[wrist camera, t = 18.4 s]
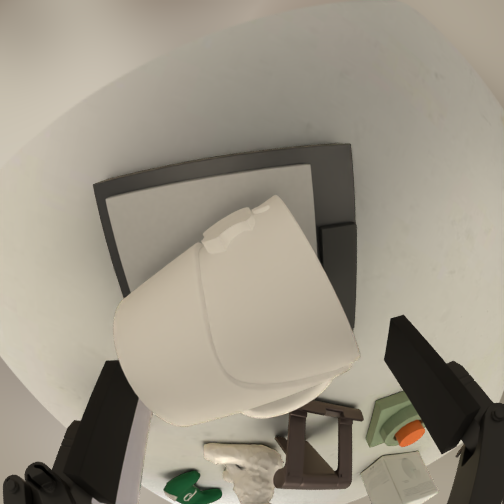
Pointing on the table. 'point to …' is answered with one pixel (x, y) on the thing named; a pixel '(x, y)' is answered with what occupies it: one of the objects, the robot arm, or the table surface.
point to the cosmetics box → (399, 480)
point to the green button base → (390, 419)
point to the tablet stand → (307, 458)
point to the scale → (232, 209)
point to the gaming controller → (190, 490)
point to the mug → (235, 324)
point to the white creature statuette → (247, 469)
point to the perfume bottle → (134, 458)
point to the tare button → (410, 433)
